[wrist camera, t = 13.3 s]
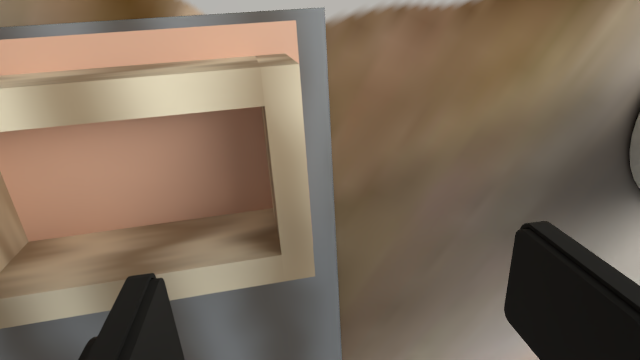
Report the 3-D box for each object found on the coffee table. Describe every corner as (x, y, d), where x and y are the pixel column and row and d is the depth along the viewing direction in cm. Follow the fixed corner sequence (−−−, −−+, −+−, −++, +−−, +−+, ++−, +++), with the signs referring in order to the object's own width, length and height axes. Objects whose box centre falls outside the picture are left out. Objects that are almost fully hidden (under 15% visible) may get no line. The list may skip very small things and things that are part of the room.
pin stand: (320, 7, 20) (503, -15, 6) (339, 372, 31) (426, 674, 17) (-149, 36, 17) (-1854, 121, 3) (46, 433, 27) (-156, 872, 13)
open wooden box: (285, 53, 20) (299, 64, 15) (300, 226, 24) (315, 276, 19) (-76, 81, 17) (-187, 103, 13) (8, 269, 21) (-55, 337, 17)
